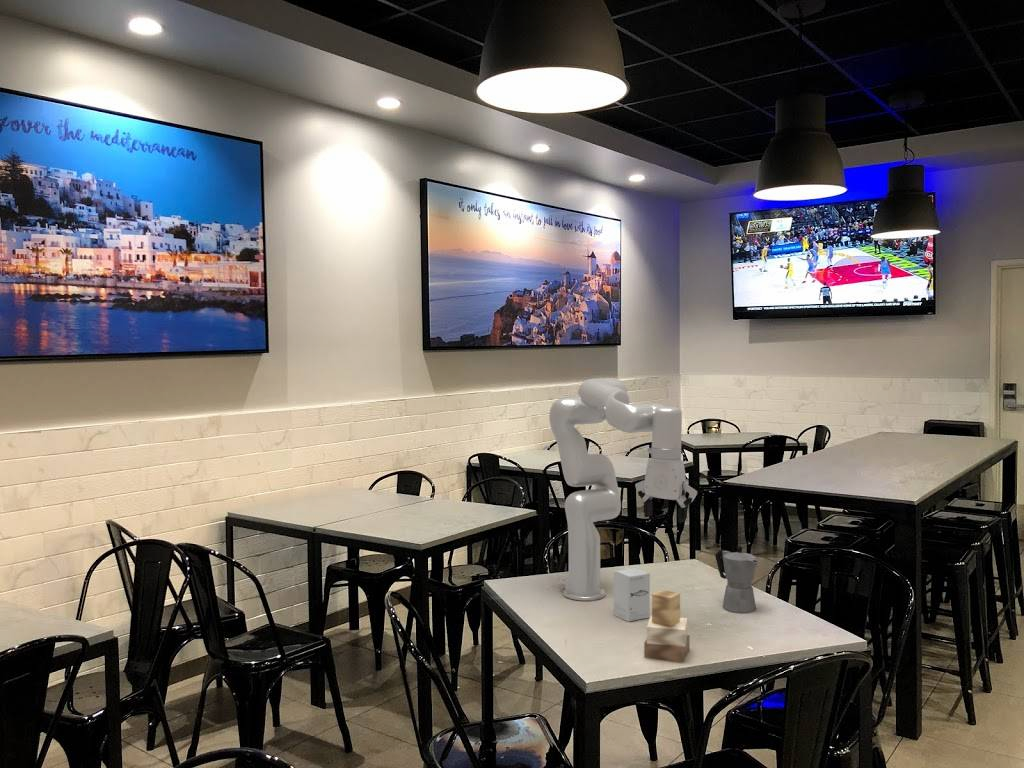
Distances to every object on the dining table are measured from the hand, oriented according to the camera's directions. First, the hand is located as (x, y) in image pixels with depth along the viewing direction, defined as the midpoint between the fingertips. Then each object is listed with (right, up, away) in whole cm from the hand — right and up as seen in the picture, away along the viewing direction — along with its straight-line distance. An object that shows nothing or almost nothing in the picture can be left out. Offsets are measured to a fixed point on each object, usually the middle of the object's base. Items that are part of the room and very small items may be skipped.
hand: (664, 519), depth 219 cm
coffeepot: (+24, -29, +20) cm, 43 cm away
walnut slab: (-2, -31, -15) cm, 34 cm away
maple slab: (-2, -27, -15) cm, 31 cm away
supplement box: (-7, -29, +13) cm, 33 cm away
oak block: (-3, -23, -15) cm, 27 cm away
